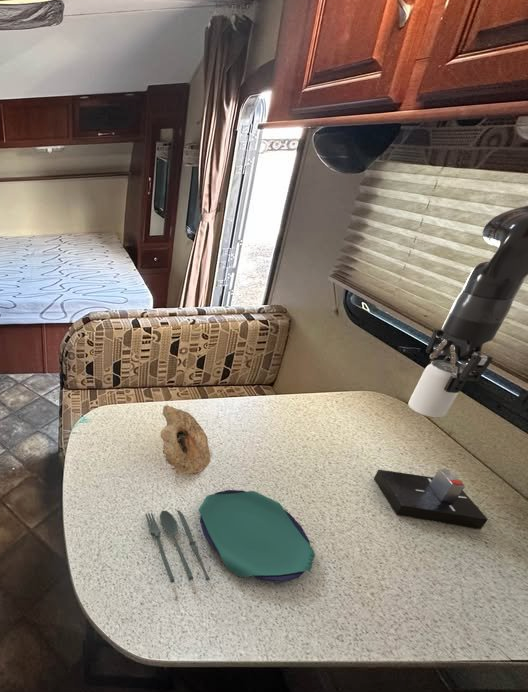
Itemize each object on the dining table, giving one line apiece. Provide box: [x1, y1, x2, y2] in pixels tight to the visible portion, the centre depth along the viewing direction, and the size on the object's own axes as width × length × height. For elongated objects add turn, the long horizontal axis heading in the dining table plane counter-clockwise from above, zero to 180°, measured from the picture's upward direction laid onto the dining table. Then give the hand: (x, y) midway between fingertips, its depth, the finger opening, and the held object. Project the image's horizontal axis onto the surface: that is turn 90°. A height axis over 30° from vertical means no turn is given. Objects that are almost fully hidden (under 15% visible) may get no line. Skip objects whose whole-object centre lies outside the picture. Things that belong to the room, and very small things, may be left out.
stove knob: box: [429, 468, 466, 503], centre depth 77 cm, size 4×2×5 cm, turn 164°
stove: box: [373, 468, 489, 530], centre depth 79 cm, size 14×10×3 cm
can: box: [407, 360, 464, 419], centre depth 84 cm, size 6×6×12 cm
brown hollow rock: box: [160, 404, 211, 475], centre depth 96 cm, size 18×14×8 cm
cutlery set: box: [145, 489, 316, 583], centre depth 74 cm, size 20×30×2 cm, turn 93°
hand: (440, 382), depth 83 cm, fingers closed on can, 6 cm apart
